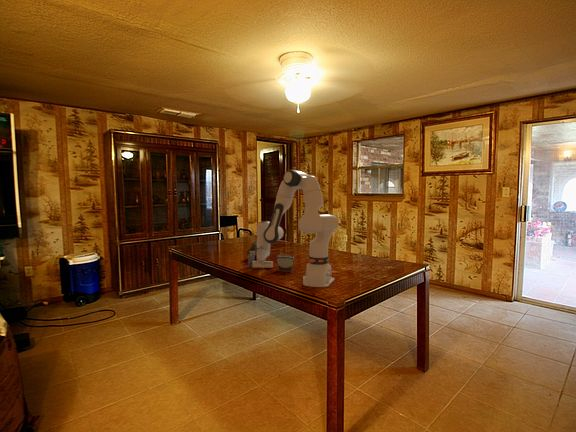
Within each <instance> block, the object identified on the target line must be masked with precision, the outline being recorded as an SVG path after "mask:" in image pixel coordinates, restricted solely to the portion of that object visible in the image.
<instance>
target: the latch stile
mask: <svg viewBox="0 0 576 432" xmlns="http://www.w3.org/2000/svg"><path fill="white" fill-rule="evenodd" d="M254 252H255V251H250V254H251V255H252V264H253V261H256V260H255V259H256V258H255V253H254Z"/></svg>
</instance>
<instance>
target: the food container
mask: <svg viewBox="0 0 576 432" xmlns="http://www.w3.org/2000/svg"><path fill="white" fill-rule="evenodd" d="M275 259H276V261H277V263H276V264H277V270H278V272H291V273H292V272H293V266H294V260H295V257H294V255H292V254H278V255H276V258H275Z"/></svg>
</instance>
